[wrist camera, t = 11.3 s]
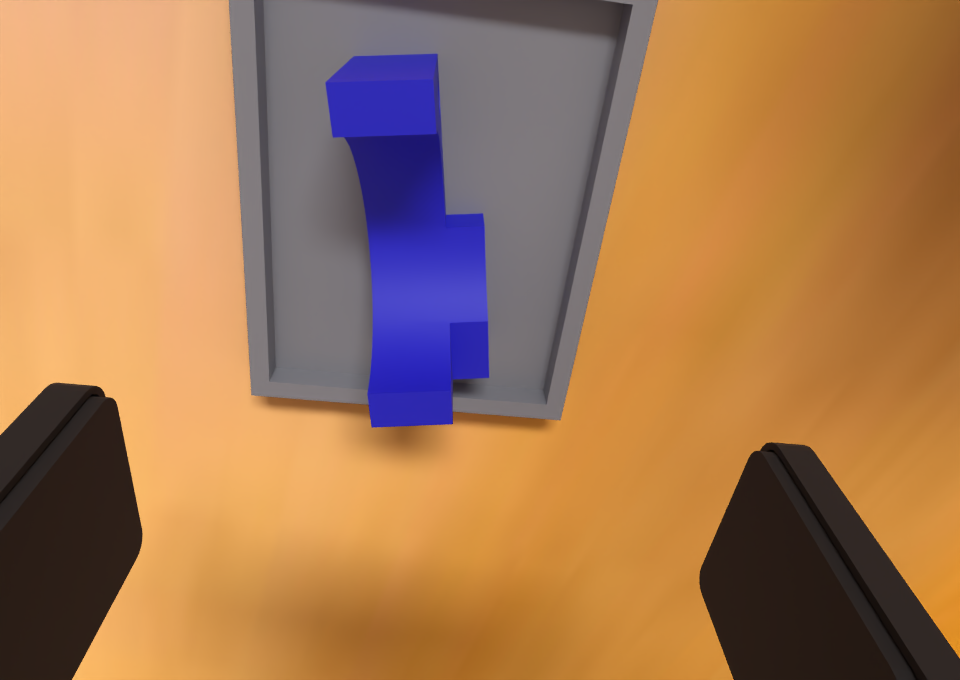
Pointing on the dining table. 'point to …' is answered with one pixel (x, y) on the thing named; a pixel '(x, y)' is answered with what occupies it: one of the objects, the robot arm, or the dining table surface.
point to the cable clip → (412, 240)
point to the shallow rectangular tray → (467, 179)
